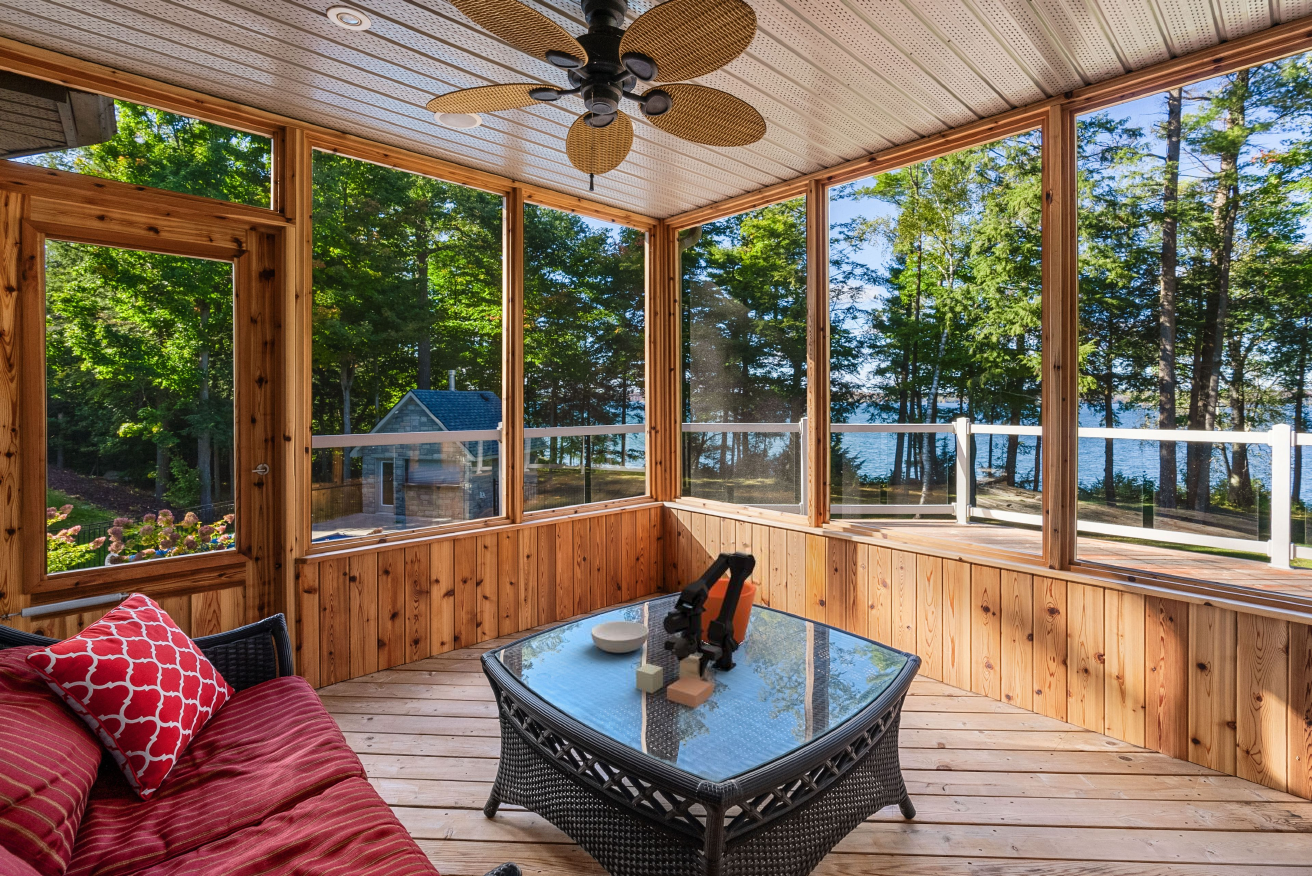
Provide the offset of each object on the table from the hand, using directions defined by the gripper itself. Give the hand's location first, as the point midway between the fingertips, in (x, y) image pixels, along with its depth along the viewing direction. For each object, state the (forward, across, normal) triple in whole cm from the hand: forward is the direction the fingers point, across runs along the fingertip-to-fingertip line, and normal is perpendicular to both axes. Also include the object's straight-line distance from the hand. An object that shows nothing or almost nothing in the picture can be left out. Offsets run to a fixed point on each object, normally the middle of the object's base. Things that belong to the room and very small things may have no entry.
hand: (692, 674), depth 209 cm
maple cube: (+1, 0, 0) cm, 1 cm away
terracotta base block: (+2, +6, -12) cm, 14 cm away
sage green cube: (+1, -8, -13) cm, 15 cm away
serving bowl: (+2, -35, +8) cm, 36 cm away
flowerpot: (+1, -8, +36) cm, 37 cm away
